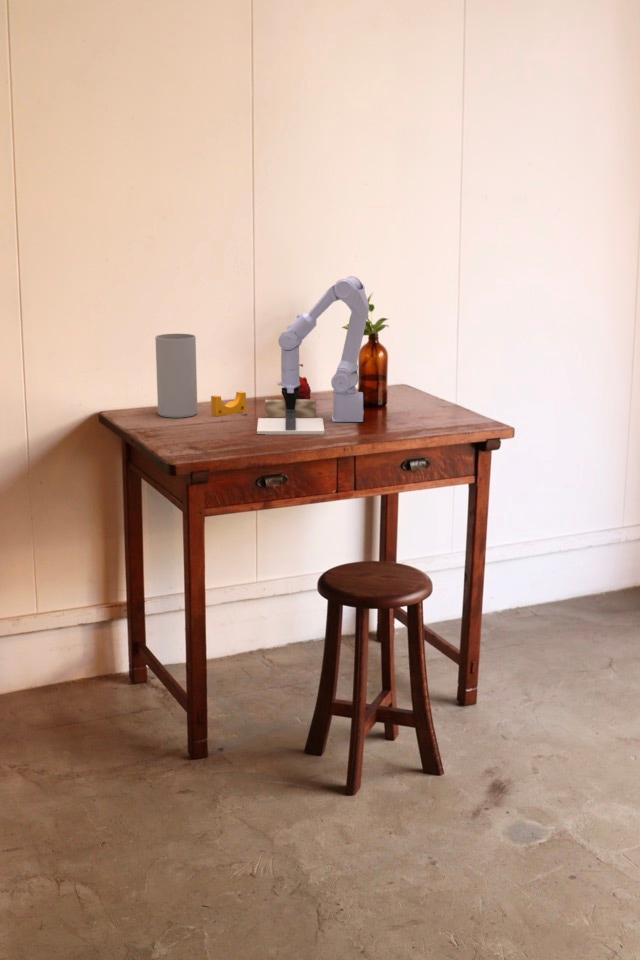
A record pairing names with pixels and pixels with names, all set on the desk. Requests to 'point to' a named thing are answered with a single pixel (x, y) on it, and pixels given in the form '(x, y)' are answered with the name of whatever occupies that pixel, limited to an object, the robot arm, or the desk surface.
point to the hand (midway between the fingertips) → (290, 411)
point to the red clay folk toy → (303, 388)
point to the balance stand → (290, 425)
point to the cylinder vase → (176, 375)
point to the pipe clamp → (228, 404)
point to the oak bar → (301, 408)
